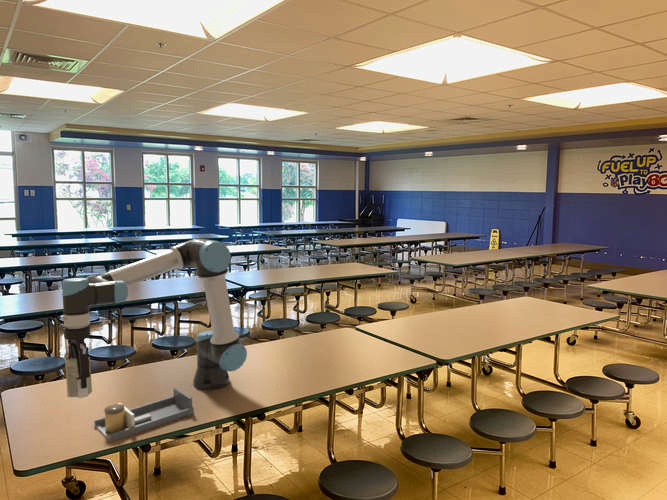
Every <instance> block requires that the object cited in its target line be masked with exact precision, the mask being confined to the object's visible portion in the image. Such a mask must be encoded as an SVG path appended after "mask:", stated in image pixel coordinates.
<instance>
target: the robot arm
mask: <svg viewBox="0 0 667 500" xmlns="http://www.w3.org/2000/svg"><path fill="white" fill-rule="evenodd" d="M231 257H232V256H231V252H230V249H229V248H228V247H227V245H225V244H224V243H223V242H220V241H218V240H215V239H205V238H193V239H190V240H188V241H184V242H182V243H180V244H179V243H178V244H177V245H174V246H171V247H170V249H169V250H167V251H164V252H161V253H158V254H155V255H153V256H150V257H147V258H144V259H142V260H139V261H136V262H133V263H129V264H127V265H125V266H121V267H118V268H116V269H113V270H110V271H107V272H104V273H102V274H98V275H95V274H91V275H88V276H86V277H73V278H67V279H65V280H63V282H62V292H61V296H62V308H63V317H62V318H61V321H62V322H63V326H64V328H63V335H64V336H63V338H64V339H65V340H67V347H68V348H67V353H68V354H67V355H68V356H67V360H69V359H70V358H76V361H77V368H78V375H79V378H76V379H77V380H78V397H77V398H78V399H82V398H83V399H84V398H87V397H88V396H89V395H88V377H90V371H89V357H90V356H89V347H88V346H87V343H86V342H85V340H86V339H87V338H89V337H90V336H91V326H90V324H91V314H90V313H91V312H90V310H91V309H90V307H93V306H94V307H95V306H101V305H111V304H119V303H123V302H126V301H127V300H128V297H129V289H128V287H130V286H133V285H135V284H139V283H141V282H144V281H146V280H148V279H151V278H154V277H157V276H159V275H163V274H164V273H168V272H170V271H173V270H176V269H178V270H183V269H185V268H191V267H192V268H196V272H197V276H198V278H199V279H201V280H202V283H203V288H204V293H205V298H206V304H207V309H208V314H209V319H210V321H209V322H210V325H211V330H205V331H202V332H199V333H198V334H197V335H196V341H195V343H196V361H197V362H196V364H197V366H196V371H195V374H194V376H193V381H192V382H193V386H194V387H195V388H196V389H199V390H205V391H208V390H218V389H221V388H224V387H226V386H228V384H229V383H230V375H229V372H235V371H238V370H239V369H240V368H241V367H243V365H244V363H245V362H246V360H247V357H248V351H247V348H246V347H245V346H244V345H243V343H241V340H240V334H239V333H238V332H237V331H236V330H235V328H234V321H233V314H232V310H231V303H230V297H229V292H228V287H227V280H226V275H227V274H228V272H229V265H230V264H231Z"/></svg>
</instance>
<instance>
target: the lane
mask: <svg viewBox="0 0 667 500" xmlns="http://www.w3.org/2000/svg"><path fill="white" fill-rule="evenodd" d="M128 409H129V410H130V411H131V412H132V413H133V414H134V418H136V417H139V416H142V415H146V414H150V415H151V419H148V420H145V421H142V422H139V423H136V424H135V426H133V427H130V428H127V427H126V426H125V429H124V430H121V431H118V432H115V433H112V434H109V433H106V427H105V416H104V417H100V418H96V419H94V422H93V423H94V427H95V428H96V429H97V430H98V431H99V432H100V434H102V436H103V437H105V438H106V440H107V441H108V442H109V443H112V442H115V441H118V440H120V439H124V438H127V437H129V436H133V435H135V434H138V433H141V432H142V433H143V432H144V431H147V430H149V429H150V430H151V429H152V428H156V427H159V426H161V425H164V424H167V423H168V424H169V423H170V422H173V421H177V420H179V419H180V420H182V419H183V418H187V417H189V416H192V415H194V414H195V407H193V397H192V396H190V395H189V394H187V393H186V392H184V391H182V390H180V389H179V388H177V387H174V388H173V395H172V396H169V397H165V398H162V399H158V400H156V401H152V402H149V403H145V404H142V405H139V406H136V407H133V408H128Z"/></svg>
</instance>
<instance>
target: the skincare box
mask: <svg viewBox="0 0 667 500" xmlns="http://www.w3.org/2000/svg"><path fill="white" fill-rule="evenodd" d="M88 357H89V371H90V377H88V396H89V395H90V394H91V393H93V386H92V384H93V383H92V371H91V368H92V367H91V358H90V356H88ZM64 365H65V366H64V367H65V379H66V380H65V381H66V391H67V398H78V380H77V379H76V378H79V375H78V368H77V361H76V358H70V359H69V360H68V359H67V360H65V361H64Z"/></svg>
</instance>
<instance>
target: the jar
mask: <svg viewBox="0 0 667 500" xmlns="http://www.w3.org/2000/svg"><path fill="white" fill-rule="evenodd" d="M124 406H125V405H124V404H123V405H122V403H121V404H118V403H117V404H116V403H115V404H110V405H107V406H106V407H105V408H104V417H105V427H106V433H109V434H112V433H115V432H118V431H121V430H124V429H125V423H124Z"/></svg>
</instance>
